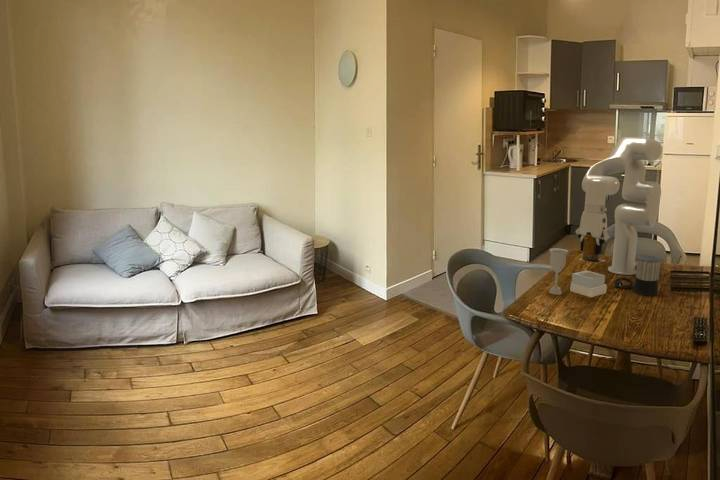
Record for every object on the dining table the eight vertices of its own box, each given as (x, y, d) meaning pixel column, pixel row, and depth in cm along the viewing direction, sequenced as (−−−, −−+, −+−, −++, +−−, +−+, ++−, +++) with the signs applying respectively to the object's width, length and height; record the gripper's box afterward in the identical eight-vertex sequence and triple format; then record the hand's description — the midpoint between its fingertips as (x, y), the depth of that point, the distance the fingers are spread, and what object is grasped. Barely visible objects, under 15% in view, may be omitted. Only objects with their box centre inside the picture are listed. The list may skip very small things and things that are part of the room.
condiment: (587, 256, 248) (589, 228, 245) (606, 260, 242) (609, 231, 239) (577, 259, 243) (580, 231, 241) (597, 263, 237) (599, 234, 234)
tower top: (585, 279, 251) (586, 270, 251) (604, 284, 244) (605, 275, 243) (571, 282, 247) (572, 273, 246) (590, 288, 239) (591, 278, 238)
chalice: (544, 293, 244) (547, 251, 240) (548, 289, 250) (550, 247, 246) (563, 296, 241) (566, 253, 237) (566, 291, 247) (569, 249, 243)
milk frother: (660, 296, 240) (664, 261, 237) (619, 294, 243) (622, 259, 240) (651, 286, 254) (655, 252, 250) (612, 284, 257) (615, 250, 253)
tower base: (585, 287, 253) (585, 278, 252) (606, 294, 245) (606, 284, 244) (570, 292, 248) (570, 282, 247) (591, 298, 240) (591, 288, 239)
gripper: (619, 211, 233) (615, 255, 237) (582, 205, 248) (578, 247, 252) (607, 213, 229) (603, 258, 234) (570, 206, 244) (567, 249, 248)
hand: (590, 252), depth 243 cm, fingers closed on condiment, 6 cm apart
